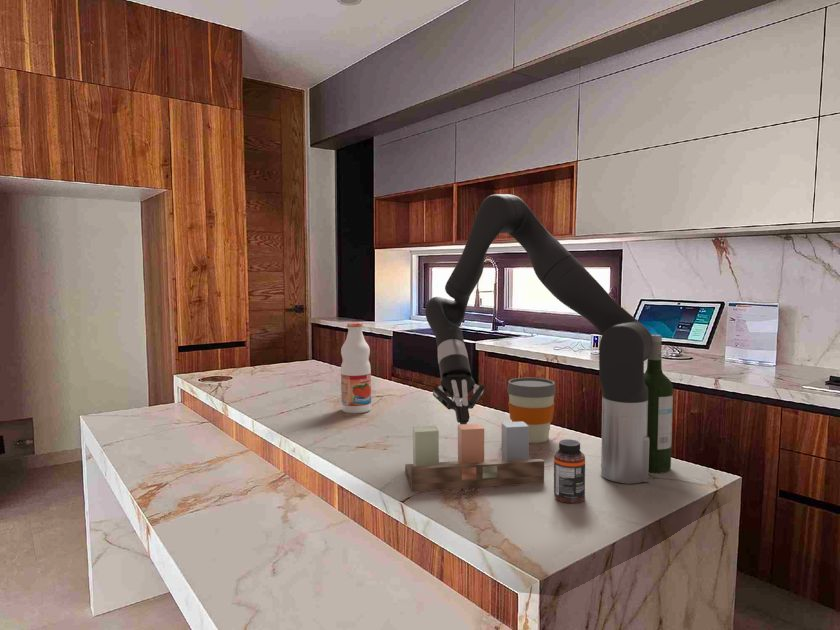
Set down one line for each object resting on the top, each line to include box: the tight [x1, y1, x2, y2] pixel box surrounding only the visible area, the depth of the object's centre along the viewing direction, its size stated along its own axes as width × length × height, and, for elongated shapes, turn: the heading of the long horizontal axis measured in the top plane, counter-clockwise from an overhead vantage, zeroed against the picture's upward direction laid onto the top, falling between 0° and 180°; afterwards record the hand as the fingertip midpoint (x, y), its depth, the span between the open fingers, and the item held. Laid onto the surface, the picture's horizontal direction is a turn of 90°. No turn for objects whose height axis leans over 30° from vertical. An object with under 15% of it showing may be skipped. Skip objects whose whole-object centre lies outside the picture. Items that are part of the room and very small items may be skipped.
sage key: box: [412, 425, 440, 466], centre depth 124 cm, size 5×4×9 cm
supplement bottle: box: [553, 438, 586, 504], centre depth 112 cm, size 6×6×11 cm
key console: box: [404, 458, 545, 492], centre depth 124 cm, size 28×12×5 cm, turn 98°
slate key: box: [500, 421, 530, 461], centre depth 127 cm, size 5×4×9 cm
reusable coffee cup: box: [507, 377, 557, 444], centre depth 152 cm, size 13×13×15 cm
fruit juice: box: [340, 321, 372, 414], centre depth 182 cm, size 9×9×28 cm
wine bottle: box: [644, 334, 674, 474], centre depth 128 cm, size 8×8×30 cm
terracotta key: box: [457, 423, 485, 464], centre depth 126 cm, size 5×4×9 cm
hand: (464, 422), depth 133 cm, fingers closed
